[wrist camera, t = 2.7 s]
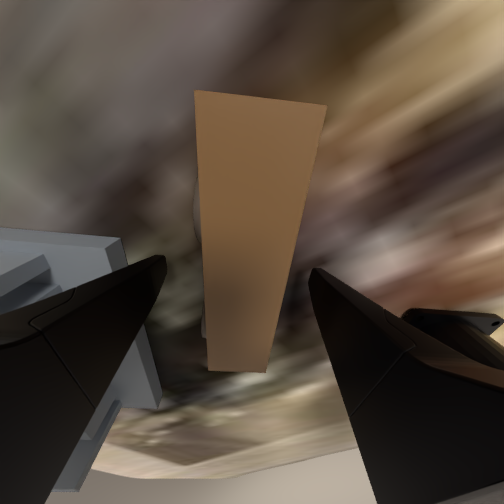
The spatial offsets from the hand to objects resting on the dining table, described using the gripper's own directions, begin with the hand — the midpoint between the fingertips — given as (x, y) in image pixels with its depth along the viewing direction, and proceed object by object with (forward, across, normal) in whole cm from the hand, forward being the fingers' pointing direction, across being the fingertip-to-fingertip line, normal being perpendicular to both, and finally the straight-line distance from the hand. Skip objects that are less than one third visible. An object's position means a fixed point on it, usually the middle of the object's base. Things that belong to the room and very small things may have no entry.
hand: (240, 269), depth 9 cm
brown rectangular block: (+1, 0, 0) cm, 1 cm away
